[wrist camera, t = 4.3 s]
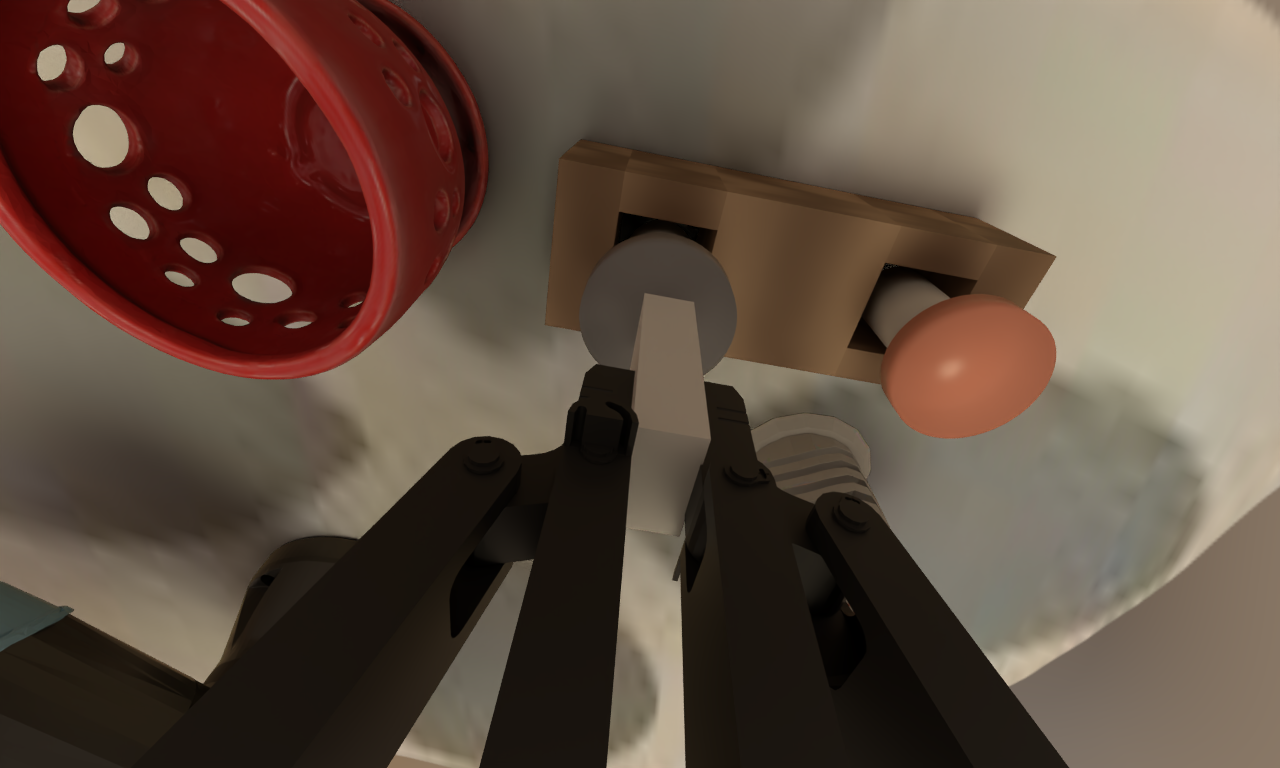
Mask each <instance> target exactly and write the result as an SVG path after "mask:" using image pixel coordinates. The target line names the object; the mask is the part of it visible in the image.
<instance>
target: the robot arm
mask: <svg viewBox="0 0 1280 768" xmlns="http://www.w3.org/2000/svg"><path fill="white" fill-rule="evenodd" d="M748 424H749V421H748V417H747V414H746V409H745V404H744V400H743V398H742V397H741V396H740V395H739V393H738V392H737V391H736V390H735V389H734V387H733V386H727V385H721V384H716V383H710V382H704V379H703V371H702V363H701V354H700V346H699V338H698V330H697V322H696V314H695V306H694V302H691V301H685V300H680V299H674V298H669V297H664V296H658V295H653V294H647V293H645V294H644V299H643V304H642V309H641V315H640V320H639V325H638V330H637V335H636V340H635V345H634V351H633V356H632V361H631V366H630V370H627V369H622V368H616V367H610V366H605V365H599V364H596V365H595V366H593V367H592V368H591V369H590V370H589V371H587V372H586V373H585V377H584V381H583V385H582V388H581V392H580V397H579V400H578V401H577V402H575V403H573V404H572V406H571V407H570V409H569V410H568V415H567V423H566V431H565V439H564V443H563V444H562V445H561V446H560V447H558V448H556V449H555V450H552V451H549V452H546V453H542V454H535V455H520V452H519V451H518V449H517V448H516V447H515V446H514V445H513V444H511V443H509V442H508V441H506V440H504V439H501V438H495V437H490V436H484V437H473V438H470V439H467V440H464V441H461V442H459V443H458V444H456V445H455V446H454V447H452V448H451V449H450V450H449V451H448V452H447V453H446V454H445V455H444V456H443V457H442V458H441V459H440V460H439V461H438V462H437V463H436V464H435V465H434V466H433V467H432V468H431V469H430V470H429V471H428V472H427V473H426V474H425V475H424V476H423V477H422V478H421V479H420V480H419V481H418V482H417V483H416V484H415V485H414V486H413V487H412V488H411V489H410V490H409V491H408V492H407V493H406V494H405V495H404V496H403V497H402V498H401V499H400V500H399V501H398V502H397V503H396V504H395V505H394V506H393V507H392V508H391V509H390V510H389V511H388V512H387V513H386V514H385V515H384V516H383V517H382V518H381V519H380V520H379V521H378V522H377V523H376V524H375V525H373V526H372V527H371V528H370V529H369V530H368V531H367V532H366V533H365V534H364V535H363V536H362V537H361V538H360V539H359V540H358V541H354V540H349V539H343V538H333V537H314V538H306V539H300V540H296V541H293V542H290V543H287V544H285V545H283V546H281V547H280V548H278V549H277V550H275V551H274V552H273V553H272V554H271V555H270V557H269V558H268V559H267V560H266V562H265V563H264V564H263V565H262V567H261V568H260V569H259V570H258V572H257V573H256V574H255V575H254V577H253V578H252V580H251V582H250V584H249V586H248V588H247V591H246V594H245V596H244V599H243V602H242V604H241V607H240V610H239V613H238V615H237V618H236V621H235V623H234V626H233V629H232V632H231V634H230V637H229V640H228V642H227V645H226V648H225V650H224V653H223V656H222V658H221V660H220V662H219V663H218V664H217V666H216V667H215V669H214V670H213V671H212V673H211V674H210V675H209V677H208V678H207V679H206V681H205V682H204V683H203V684H202V683H200V682H198V681H196V680H195V679H194V678H192V677H190V676H188V675H186V674H184V673H182V672H180V671H178V670H176V669H174V668H172V667H170V666H169V665H167V664H165V663H163V662H161V661H159V660H157V659H155V658H153V657H151V656H149V655H147V654H145V653H143V652H141V651H140V650H138V649H136V648H134V647H132V646H130V645H128V644H126V643H124V642H122V641H120V640H118V639H116V638H114V637H112V636H111V635H109V634H107V633H105V632H103V631H101V630H99V629H97V628H95V627H93V626H91V625H89V624H87V623H85V622H83V621H82V620H80V619H78V618H76V617H74V616H72V615H71V614H69V613H72V612H73V611H74V609H72V608H70V607H68V606H59V607H58V606H55V605H53V604H51V603H49V602H46V601H44V600H42V599H40V598H38V597H35V596H33V595H31V594H29V593H27V592H24V591H22V590H20V589H18V588H16V587H13V586H11V585H9V584H7V583H4V582H2V581H0V768H387V767H388V765H389V764H390V762H391V760H392V759H393V757H394V756H395V754H396V752H397V751H398V749H399V747H400V746H401V744H402V743H403V741H404V739H405V738H406V736H407V735H408V733H409V731H410V730H411V728H412V727H413V725H414V723H415V722H416V720H417V718H418V717H419V715H420V714H421V712H422V710H423V709H424V707H425V706H426V704H427V702H428V701H429V699H430V698H431V696H432V694H433V693H434V691H435V690H436V688H437V686H438V685H439V683H440V681H441V680H442V678H443V677H444V675H445V673H446V672H447V670H448V669H449V667H450V665H451V664H452V662H453V661H454V659H455V657H456V656H457V654H458V653H459V651H460V649H461V648H462V646H463V644H464V643H465V641H466V640H467V638H468V636H469V635H470V633H471V632H472V630H473V628H474V627H475V625H476V624H477V622H478V620H479V619H480V617H481V615H482V614H483V612H484V611H485V609H486V607H487V606H488V604H489V603H490V601H491V599H492V598H493V596H494V595H495V593H496V591H497V590H498V588H499V587H500V585H501V583H502V582H503V580H504V578H505V577H506V575H507V574H508V572H509V570H510V569H511V567H512V564H513V562H516V561H523V560H531V559H534V561H533V565H532V569H531V572H530V576H529V580H528V584H527V588H526V591H525V595H524V599H523V603H522V607H521V610H520V614H519V618H518V622H517V626H516V630H515V633H514V637H513V641H512V645H511V649H510V652H509V656H508V660H507V664H506V668H505V671H504V675H503V679H502V683H501V687H500V691H499V694H498V698H497V702H496V706H495V710H494V713H493V717H492V721H491V725H490V729H489V733H488V736H487V740H486V744H485V748H484V752H483V755H482V759H481V763H480V767H479V768H606V766H607V754H608V741H609V729H610V717H611V705H612V692H613V680H614V668H615V655H616V643H617V631H618V618H619V606H620V594H621V581H622V569H623V557H624V544H625V532H626V528H629V529H635V530H641V531H648V532H654V533H661V534H667V535H673V536H680V534H681V531H682V528H683V524H684V521H685V536H686V538H685V541H684V544H683V547H682V550H681V553H680V556H679V559H678V562H677V565H676V568H675V571H674V575H673V579H672V580H673V581H678V578H679V575H680V576H681V613H682V650H683V687H684V724H685V761H686V768H1069V767H1068V766H1067V764H1066V763H1065V762H1064V760H1063V759H1062V758H1061V756H1060V755H1059V754H1058V752H1057V751H1056V750H1055V748H1054V747H1053V746H1052V744H1051V743H1050V742H1049V741H1048V739H1047V738H1046V736H1045V735H1044V734H1043V732H1042V731H1041V730H1040V728H1039V727H1038V726H1037V724H1036V723H1035V722H1034V720H1033V719H1032V718H1031V716H1030V715H1029V714H1028V712H1027V711H1026V709H1025V708H1024V707H1023V706H1022V704H1021V703H1020V702H1019V700H1018V699H1017V698H1016V696H1015V695H1014V694H1013V692H1012V691H1011V689H1010V688H1009V687H1008V685H1007V684H1006V683H1005V681H1004V680H1003V679H1002V677H1001V676H1000V675H999V673H998V672H997V671H996V669H995V668H994V667H993V665H992V664H991V663H990V661H989V660H988V659H987V657H986V656H985V655H984V653H983V652H982V651H981V649H980V648H979V647H978V645H977V644H976V643H975V641H974V640H973V639H972V637H971V636H970V635H969V633H968V632H967V631H966V629H965V628H964V627H963V625H962V624H961V623H960V621H959V620H958V619H957V617H956V616H955V615H954V613H953V612H952V611H951V609H950V608H949V607H948V605H947V604H946V603H945V601H944V600H943V599H942V597H941V596H940V595H939V593H938V592H937V591H936V589H935V588H934V587H933V585H932V584H931V583H930V581H929V580H928V579H927V577H926V576H925V575H924V573H923V572H922V571H921V569H920V568H919V567H918V565H917V564H916V563H915V561H914V560H913V559H912V557H911V556H910V555H909V553H908V552H907V551H906V549H905V548H904V547H903V545H902V544H901V543H900V541H899V540H898V539H897V537H896V536H895V535H894V533H893V532H892V531H891V529H890V528H889V527H888V525H887V524H886V523H885V521H884V520H883V519H882V517H881V516H880V515H879V514H878V513H877V512H876V511H875V510H874V509H873V508H872V507H871V506H870V505H868V504H867V503H865V502H864V501H862V500H861V499H859V498H857V497H854V496H852V495H849V494H847V493H841V492H834V491H833V492H828V493H823V494H822V495H821V496H820V497H819V498H818V499H817V500H816V502H815V504H813V503H811V502H808V501H806V500H803V499H801V498H798V497H796V496H793V495H791V494H789V493H787V492H785V491H783V490H781V489H780V488H778V487H777V485H776V481H775V479H774V477H773V475H772V473H771V471H770V470H769V469H768V468H767V467H766V466H765V465H764V464H763V463H761V462H760V461H758V460H757V456H756V451H755V447H754V443H753V439H752V434H751V430H750V426H749V425H748ZM846 600H847V601H848V603H849V605H850V606H851V608H852V610H853V611H852V610H851V609H850V607H849V606H848V604H847V602H846Z"/></svg>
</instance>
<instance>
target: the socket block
mask: <svg viewBox="0 0 1280 768" xmlns="http://www.w3.org/2000/svg"><path fill="white" fill-rule="evenodd" d="M623 212H624V213H629V214H635V215H640V216H645V217H650V218H655V219H661V220H666V221H671V222H676V223H681V224H687V225H692V226H697V227H700V228H699V232H698V236H697V240H696V243H698V244H700V245H701V246H703V247H704V248H705V249H707V250H708V251H709V252H710V253H711V254H712V255H713V256H714V257H715V258H716V259H717V260H718V261H719V263H720V264H721V265H722V267H723V268H724V270H725V272H726V274H727V276H728V279H729V282H730V284H731V288H732V291H733V294H734V297H735V302H736V307H737V325H736V330H735V335H734V338H733V340H732V343H731V345H730V347H729V349H728V351H727V352H726V354H725V355H724V357H729V358H735V359H740V360H746V361H752V362H757V363H763V364H769V365H774V366H780V367H786V368H791V369H797V370H803V371H808V372H814V373H820V374H825V375H831V376H837V377H842V378H848V379H854V380H859V381H865V382H871V383H876V384H881V379H880V371H881V364H882V360H883V357H884V354H885V352H886V349H887V347H886V346H885V345H884V344H883V342H882V341H881V340H880V339H879V337H878V336H877V335H876V334H875V332H874V331H873V330H872V329H871V327H870V326H869V325H868V324H867V322H866V321H865V320H864V319H863V317H862V316H861V315H862V313H863V311H864V309H865V307H866V304H867V302H868V300H869V298H870V295H871V293H872V291H873V289H874V286H875V284H876V282H877V280H878V278H879V275H880V273H881V271H882V269H883V266H884V264H885V263H890V264H895V265H900V266H903V267H908V268H912V269H914V270H915V271H917V272H918V273H920V274H921V275H922V276H923V277H925V278H926V279H927V280H928V281H930V282H931V283H932V284H933V285H935V286H936V287H937V288H938V289H940V290H941V291H942V292H943V293H945V294H946V295H947V296H948V297H950V298H954V297H958V296H962V295H970V294H987V295H995V296H998V297H1002V298H1005V299H1007V300H1009V301H1011V302H1013V303H1014V304H1016V305H1018V306H1019V307H1021V308H1022V309H1024V307H1025V306H1026V304H1027V303H1028V301H1029V299H1030V298H1031V296H1032V295H1033V293H1034V292H1035V290H1036V288H1037V287H1038V285H1039V284H1040V282H1041V280H1042V279H1043V277H1044V276H1045V274H1046V273H1047V271H1048V269H1049V268H1050V266H1051V265H1052V263H1053V261H1054V260H1055V258H1056V257H1057V256H1054V255H1052V254H1050V253H1048V252H1046V251H1044V250H1042V249H1040V248H1038V247H1036V246H1034V245H1032V244H1029V243H1027V242H1025V241H1023V240H1021V239H1019V238H1017V237H1015V236H1013V235H1011V234H1009V233H1007V232H1004V231H1002V230H1000V229H998V228H996V227H994V226H992V225H990V224H988V223H986V222H984V221H982V220H980V219H977V218H972V217H967V216H962V215H957V214H952V213H947V212H942V211H937V210H932V209H927V208H922V207H917V206H912V205H907V204H902V203H897V202H892V201H887V200H882V199H877V198H872V197H867V196H862V195H857V194H852V193H847V192H842V191H837V190H832V189H827V188H822V187H817V186H812V185H807V184H802V183H797V182H792V181H787V180H782V179H777V178H772V177H767V176H762V175H757V174H752V173H747V172H742V171H737V170H732V169H727V168H722V167H717V166H712V165H707V164H702V163H697V162H692V161H687V160H682V159H677V158H672V157H667V156H662V155H657V154H652V153H647V152H642V151H637V150H632V149H627V148H622V147H617V146H612V145H607V144H602V143H597V142H592V141H587V140H582V139H581V140H580V141H579V142H577V143H576V144H575V145H574V146H573V147H572V148H571V149H569V150H568V151H567V152H566V153H565V154H564V155H563V156H561V157H560V158H559V167H558V179H557V190H556V202H555V214H554V225H553V237H552V249H551V260H550V272H549V284H548V295H547V307H546V319H545V325H548V326H554V327H559V328H565V329H571V330H576V331H581V329H580V321H579V311H580V304H581V299H582V296H583V293H584V290H585V287H586V284H587V282H588V279H589V276H590V274H591V272H592V270H593V268H594V267H595V265H596V264H597V263H598V261H599V260H600V259H601V258H602V257H603V256H604V255H605V254H606V253H607V252H608V251H609V250H610V249H612V248H613V247H614V246H616V245H618V241H619V235H620V228H621V222H622V216H623Z"/></svg>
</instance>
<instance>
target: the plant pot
mask: <svg viewBox="0 0 1280 768" xmlns="http://www.w3.org/2000/svg"><path fill="white" fill-rule="evenodd" d="M69 1H70V0H0V224H1V225H2V226H3V228H4V229H5V230H6V231H7V232H8V234H9V235H10V236H11V237H12V238H13V240H14V241H15V242H16V243H17V244H18V245H19V246H20V247H21V248H22V249H23V250H24V251H25V252H26V253H27V254H28V255H29V256H30V257H31V258H32V259H33V260H34V261H35V262H36V263H37V264H38V265H39V266H40V267H41V268H42V269H43V270H44V271H46V272H47V273H48V274H49V275H50V276H51V277H52V278H53V279H55V280H56V281H57V282H58V283H59V284H61V285H62V286H63V287H64V288H65V289H67V290H68V291H69V292H70V293H71V294H73V295H74V296H75V297H76V298H77V299H79V300H80V301H81V302H82V303H84V304H85V305H86V306H88V307H89V308H90V309H91V310H93V311H94V312H96V313H97V314H99V315H100V316H102V317H103V318H105V319H106V320H107V321H109V322H110V323H112V324H113V325H115V326H117V327H118V328H120V329H121V330H123V331H125V332H127V333H128V334H130V335H132V336H133V337H135V338H137V339H139V340H141V341H143V342H145V343H146V344H148V345H150V346H152V347H154V348H156V349H158V350H160V351H162V352H165V353H167V354H169V355H171V356H174V357H176V358H179V359H181V360H184V361H186V362H189V363H192V364H195V365H197V366H200V367H203V368H206V369H210V370H213V371H217V372H220V373H224V374H228V375H234V376H239V377H245V378H253V379H294V378H302V377H307V376H312V375H316V374H319V373H322V372H326V371H329V370H331V369H334V368H336V367H338V366H340V365H342V364H344V363H346V362H347V361H349V360H351V359H352V358H354V357H356V356H357V355H359V354H360V353H361V352H362V351H364V350H365V349H366V348H367V347H369V346H370V345H371V344H372V343H374V342H375V341H376V340H377V339H378V338H379V337H381V336H382V335H383V334H384V333H385V332H386V331H387V330H389V329H390V328H391V327H392V326H393V325H394V324H395V323H396V322H397V321H398V320H399V319H400V318H401V317H402V316H403V314H404V313H405V312H406V311H407V310H408V309H409V308H410V307H411V305H412V304H413V303H414V302H415V301H416V300H417V299H418V297H419V296H420V295H421V294H422V293H423V292H424V291H425V290H426V289H427V288H428V287H429V286H430V284H431V283H432V282H433V280H434V279H435V277H436V276H437V275H438V273H439V271H440V270H441V268H442V266H443V264H444V263H445V261H446V259H447V257H448V255H449V253H450V251H451V249H452V247H454V246H455V245H456V244H457V243H458V242H459V241H460V240H461V239H462V238H463V237H464V236H465V235H466V233H467V232H468V231H469V229H470V228H471V226H472V225H473V223H474V222H475V220H476V218H477V216H478V214H479V211H480V209H481V206H482V204H483V200H484V196H485V193H486V188H487V182H488V171H489V161H488V146H487V139H486V133H485V129H484V124H483V120H482V117H481V114H480V111H479V108H478V105H477V102H476V100H475V98H474V96H473V93H472V91H471V89H470V87H469V86H468V84H467V82H466V80H465V78H464V77H463V75H462V73H461V72H460V70H459V69H458V67H457V66H456V64H455V62H454V61H453V60H452V58H451V57H450V56H449V54H448V53H447V52H446V50H445V49H444V48H443V47H442V46H441V44H440V43H439V42H438V41H437V40H436V39H435V38H434V37H433V36H432V34H431V33H429V32H428V31H427V30H426V29H425V28H424V27H423V26H422V25H421V24H420V23H419V22H418V21H416V20H415V19H414V18H413V17H412V16H410V15H409V14H408V13H407V12H405V11H404V10H402V9H401V8H400V7H398V6H396V5H395V4H393V3H391V2H390V1H388V0H100V2H99V3H98V4H97V5H95V6H94V7H93V8H91V9H89V10H87V11H85V12H81V13H72V12H68V9H67V6H68V3H69ZM115 43H124V46H125V51H124V54H123V57H122V58H121V59H120V60H119V61H117V62H115V63H113V64H106V63H105V61H104V54H105V52H106V50H107V49H108V48H109V47H110V46H111V45H112V44H115ZM52 45H61V46H63V47H64V49H65V52H66V56H67V61H66V65H65V68H64V71H63V72H62V74H60V75H59V76H58V77H57V78H55V79H53V80H48V81H43V80H42V79H41V78H40V76H39V75H38V71H37V59H38V57H39V54H40V52H41V51H42V50H44V49H46V48H47V47H49V46H52ZM90 105H102V106H106V107H109V108H111V109H112V110H114V111H115V112H116V113H117V114H118V115H119V117H120V118H121V120H122V121H123V123H124V125H125V127H126V130H127V133H128V138H129V148H128V153H127V155H126V157H125V159H124V160H123V161H122V163H120V164H118V165H117V166H113V167H109V168H101V167H96V166H94V165H93V164H91V163H90V162H89V161H87V160H85V159H84V158H83V156H82V155H81V154H80V152H79V151H78V150H77V147H76V145H75V143H74V139H73V128H74V125H75V122H76V120H77V119H78V117H79V116H80V114H81V112H82V111H83V110H84V109H85V108H86V107H87V106H90ZM152 177H160V178H164V179H166V180H168V181H170V182H171V183H173V184H174V185H175V186H176V188H177V189H178V190H179V191H180V193H181V195H182V197H183V206H182V207H181V208H180V209H179V210H169V209H166V208H164V207H162V206H160V205H159V204H158V203H157V202H156V201H155V200H154V198H153V197H152V196H151V195H150V193H149V191H148V181H149V179H150V178H152ZM117 206H118V207H125V208H129V209H131V210H134V211H135V212H137V213H138V214H139V215H140V216H141V217H143V219H144V220H145V221H146V222H147V225H148V227H149V230H150V233H149V236H148V238H147V239H145V240H143V239H135V238H132V237H130V236H128V235H126V234H124V233H123V232H122V231H120V230H119V229H118V228H117V227H116V226H115V225H114V224H113V222H112V221H111V218H110V210H111V208H113V207H117ZM184 238H196V239H198V240H201V241H203V242H205V243H206V244H208V245H209V246H210V247H211V248H212V249H213V250H214V251H215V253H216V254H217V260H216V261H215V262H212V263H203V262H199V261H197V260H196V259H194V258H192V257H191V256H190V255H188V254H187V253H186V252H185V251H184V250H183V249H182V247H181V245H180V240H182V239H184ZM168 271H174V272H178V273H181V274H184V275H185V276H187V277H188V278H190V279H191V280H192V282H193V283H194V286H191V287H184V286H180V285H177V284H175V283H173V282H171V281H170V280H169V279H168V278H167V277H166V275H165V272H168ZM245 273H260V274H265V275H269V276H271V277H274V278H277V279H279V280H281V281H282V282H284V283H285V284H286V285H287V286H288V287H289V288H290V289H291V291H292V296H290V297H289V298H288V299H286V300H284V301H280V302H277V303H260V302H254V301H251V300H249V299H247V298H245V297H243V296H241V295H239V294H238V293H237V292H236V291H235V290H234V288H233V286H232V281H233V279H234V278H236V277H237V276H239V275H242V274H245ZM361 301H363V302H362V303H360V304H359V305H357V306H355V307H349V306H351V305H353V304H355V303H357V302H361ZM230 317H233V318H240V319H243V320H246V321H248V322H249V324H247V325H244V326H234V325H230V324H226V323H224V322H223V321H221V320H223V319H225V318H230ZM300 321H305V322H312V323H311V324H309V325H307V326H304V327H301V328H293V329H292V328H286V327H284V326H286V325H288V324H290V323H294V322H300Z"/></svg>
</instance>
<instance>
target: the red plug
mask: <svg viewBox="0 0 1280 768" xmlns="http://www.w3.org/2000/svg"><path fill="white" fill-rule="evenodd" d="M861 316H862V317H863V319H864V320H865V321H866V322H867V324H868V325H869V326H870V327H871V329H872V330H873V331H874V332H875V334H876V335H877V336H878V337H879V339H880V340H881V341H882V342H883V344H884V345H885V346H886V347H887V349H886V352H885V354H884V357H883V360H882V364H881V371H880V379H881V385H882V389H883V391H884V393H885V395H886V397H887V398H888V400H889V401H890V403H891V404H892V406H893V407H894V409H895V410H896V412H897V413H898V415H899V416H900V418H901V419H902V420H903V421H904V422H905V423H906V424H907V425H908V426H910V427H911V428H912V429H914V430H916V431H918V432H920V433H922V434H925V435H928V436H932V437H938V438H963V437H969V436H974V435H978V434H981V433H984V432H987V431H990V430H993V429H995V428H997V427H999V426H1001V425H1003V424H1005V423H1007V422H1009V421H1010V420H1012V419H1013V418H1015V417H1016V416H1018V415H1019V414H1021V413H1022V412H1023V411H1024V410H1025V409H1027V408H1028V407H1029V406H1030V405H1031V404H1032V403H1033V402H1034V401H1035V400H1036V399H1037V398H1038V396H1039V395H1040V394H1041V393H1042V392H1043V390H1044V388H1045V387H1046V385H1047V384H1048V382H1049V380H1050V378H1051V376H1052V373H1053V370H1054V367H1055V362H1056V346H1055V341H1054V339H1053V336H1052V334H1051V332H1050V331H1049V330H1048V328H1047V327H1046V326H1045V325H1044V324H1043V323H1042V322H1041V321H1040V320H1038V319H1037V318H1035V317H1034V316H1032V315H1031V314H1029V313H1028V312H1027V311H1025V310H1024V309H1022V308H1021V307H1019V306H1018V305H1016V304H1014V303H1013V302H1011V301H1009V300H1007V299H1005V298H1002V297H998V296H995V295H987V294H970V295H962V296H958V297H954V298H950V297H948V296H947V295H946V294H945V293H943V292H942V291H941V290H940V289H938V288H937V287H936V286H935V285H933V284H932V283H931V282H930V281H928V280H927V279H926V278H925V277H923V276H922V275H921V274H920V273H918V272H917V271H915V270H914V269H912V268H908V267H903V266H897V267H891V268H888V269H885V270H883V271H881V273H880V275H879V278H878V280H877V282H876V284H875V286H874V289H873V291H872V293H871V295H870V298H869V300H868V302H867V304H866V307H865V309H864V311H863V313H862V315H861Z"/></svg>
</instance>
